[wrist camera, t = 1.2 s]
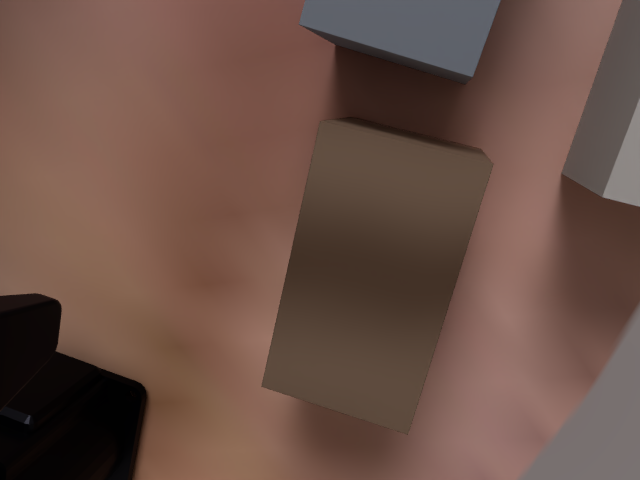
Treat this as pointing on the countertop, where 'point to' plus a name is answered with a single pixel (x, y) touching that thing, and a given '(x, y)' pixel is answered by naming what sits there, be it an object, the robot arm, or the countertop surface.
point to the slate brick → (408, 31)
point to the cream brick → (612, 117)
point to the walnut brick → (373, 268)
